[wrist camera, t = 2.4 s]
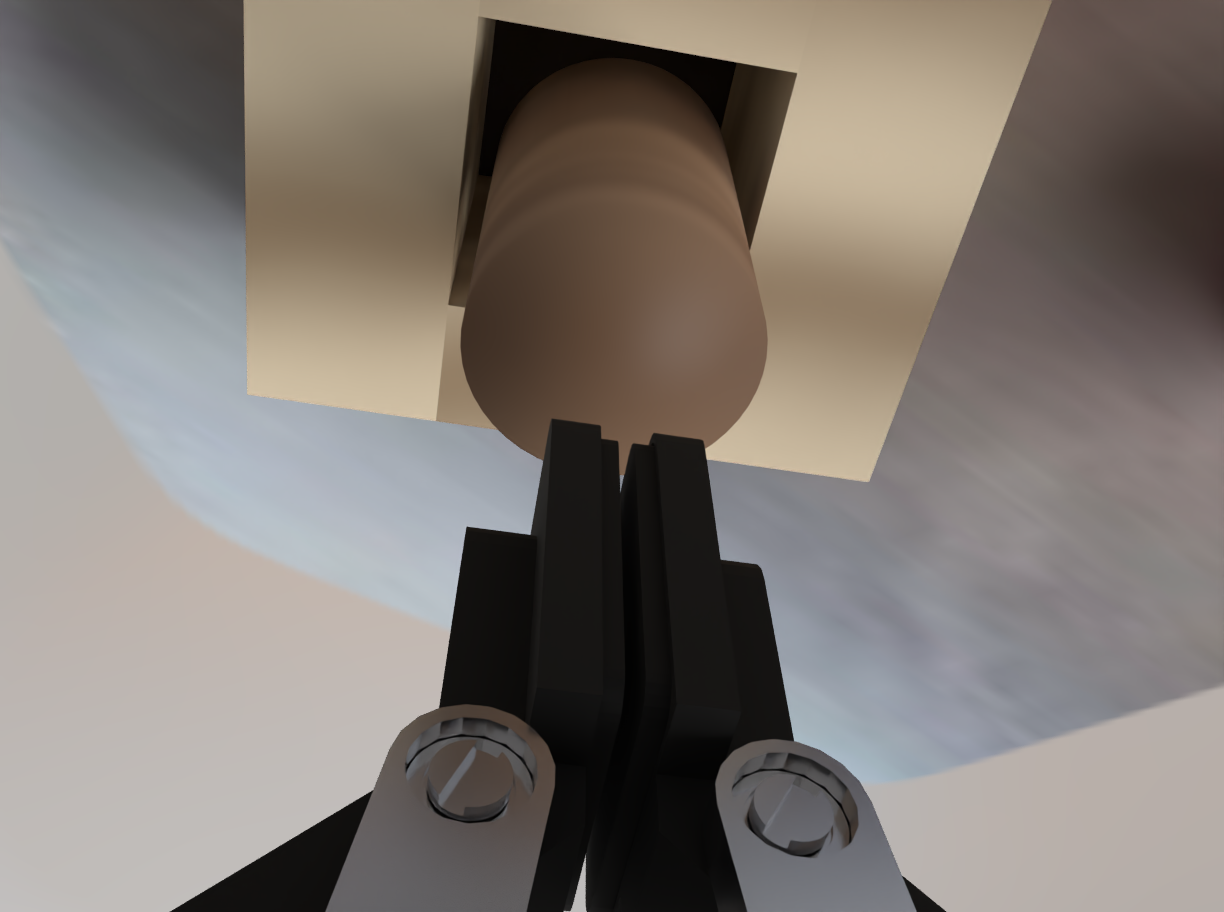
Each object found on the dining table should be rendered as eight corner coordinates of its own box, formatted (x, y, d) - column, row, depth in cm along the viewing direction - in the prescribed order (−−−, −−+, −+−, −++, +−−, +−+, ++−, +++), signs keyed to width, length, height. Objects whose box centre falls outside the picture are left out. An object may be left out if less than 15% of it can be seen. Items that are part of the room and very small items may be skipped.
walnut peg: (510, 38, 19) (478, 183, 14) (752, 81, 19) (803, 236, 14) (484, 261, 21) (446, 453, 16) (699, 295, 21) (728, 492, 16)
